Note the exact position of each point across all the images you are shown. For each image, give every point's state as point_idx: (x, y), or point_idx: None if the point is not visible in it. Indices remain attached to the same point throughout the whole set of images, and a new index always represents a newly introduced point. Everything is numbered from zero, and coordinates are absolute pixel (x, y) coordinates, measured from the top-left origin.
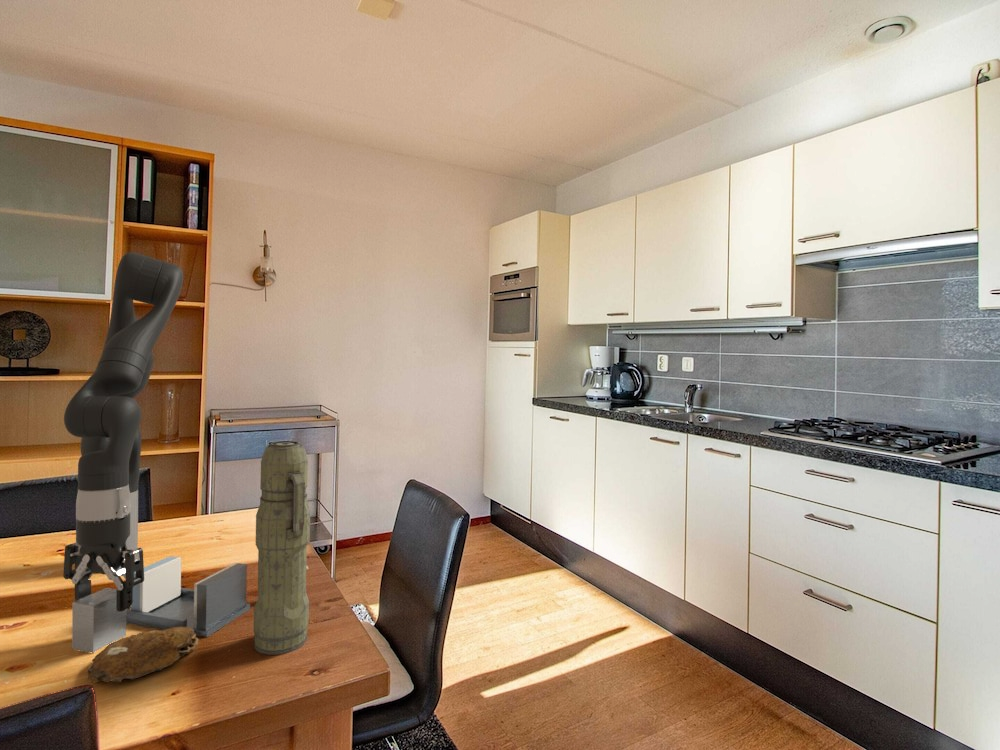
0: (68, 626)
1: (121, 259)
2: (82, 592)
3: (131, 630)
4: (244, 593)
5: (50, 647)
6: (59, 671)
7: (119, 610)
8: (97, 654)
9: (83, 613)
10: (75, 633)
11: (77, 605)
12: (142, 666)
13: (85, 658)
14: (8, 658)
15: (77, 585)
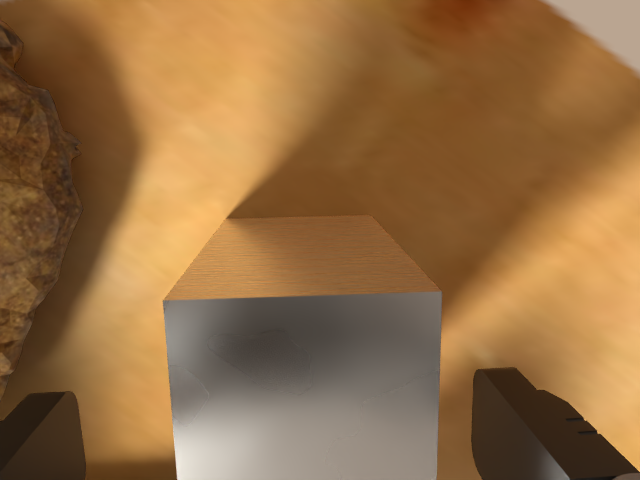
0: (606, 374)
1: None
2: (519, 454)
3: None
4: None
5: (496, 193)
6: (219, 30)
7: (36, 394)
8: (47, 128)
9: (295, 270)
10: (360, 232)
11: (375, 288)
12: None
13: (215, 168)
14: (601, 44)
15: (588, 473)
